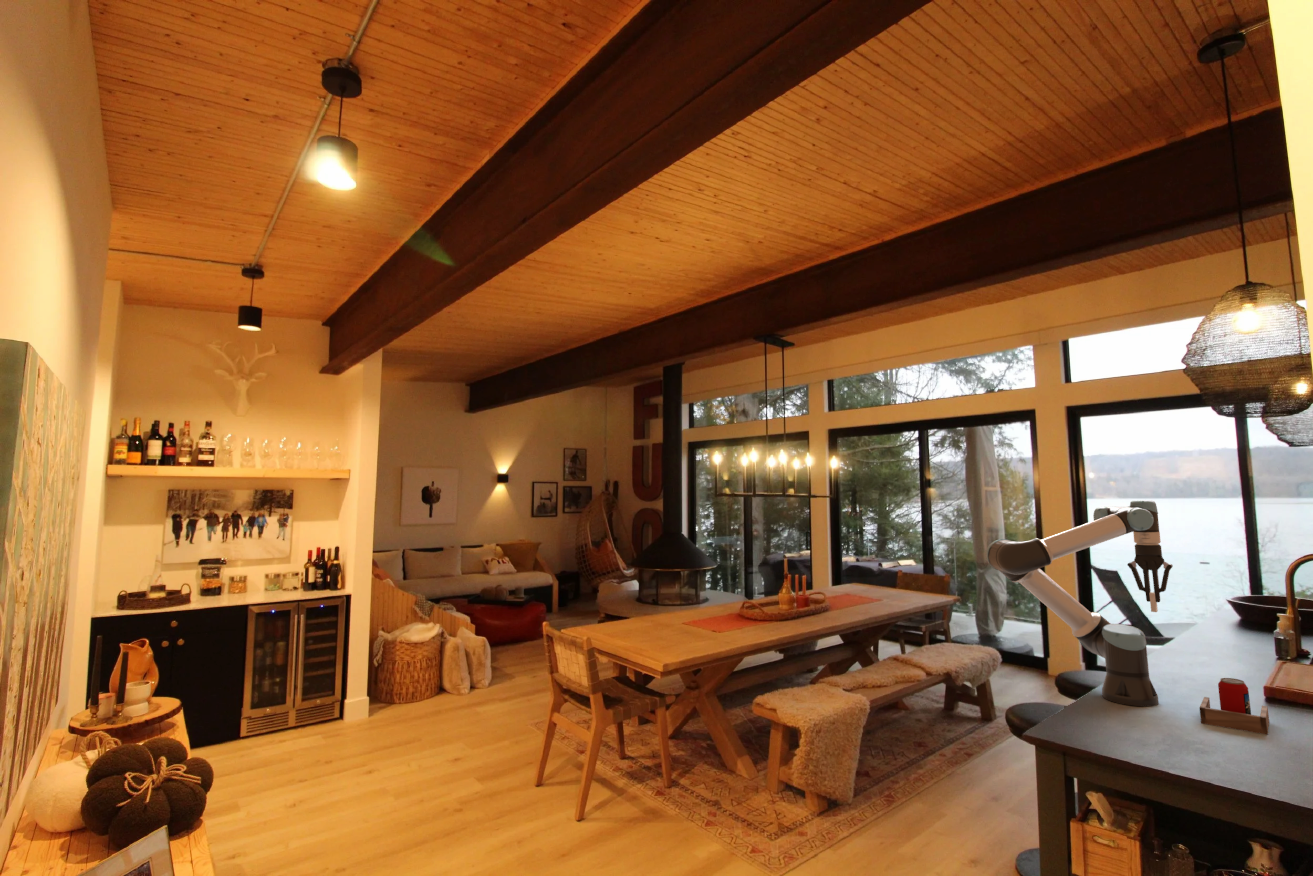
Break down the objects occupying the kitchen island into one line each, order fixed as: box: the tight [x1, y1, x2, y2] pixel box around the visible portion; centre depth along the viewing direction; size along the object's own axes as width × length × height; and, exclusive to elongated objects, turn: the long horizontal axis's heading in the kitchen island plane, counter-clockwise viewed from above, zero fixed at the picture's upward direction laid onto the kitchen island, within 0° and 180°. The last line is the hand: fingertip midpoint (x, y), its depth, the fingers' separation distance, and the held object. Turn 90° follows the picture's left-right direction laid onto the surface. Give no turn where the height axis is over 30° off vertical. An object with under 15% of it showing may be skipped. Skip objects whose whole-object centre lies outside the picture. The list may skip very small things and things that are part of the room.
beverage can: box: [1217, 677, 1252, 715], centre depth 191 cm, size 7×7×12 cm
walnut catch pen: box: [1199, 696, 1270, 735], centre depth 190 cm, size 13×14×4 cm
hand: (1154, 611), depth 226 cm, fingers closed
